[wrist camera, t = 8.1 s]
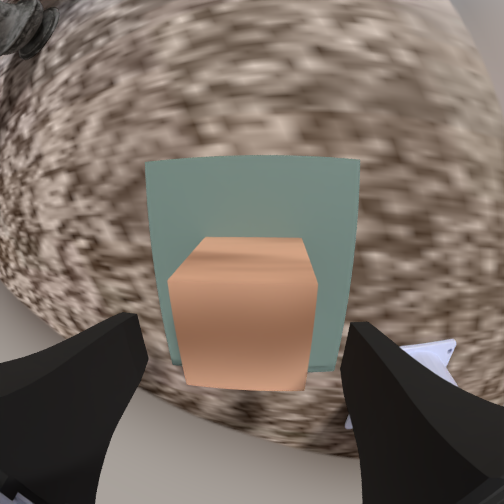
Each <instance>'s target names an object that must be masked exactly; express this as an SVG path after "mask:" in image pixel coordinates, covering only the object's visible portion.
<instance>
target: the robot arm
mask: <svg viewBox="0 0 504 504" xmlns="http://www.w3.org/2000/svg"><path fill="white" fill-rule="evenodd" d="M455 346H456V341H455V340H454V339H448V340H442V341H436V342H430V343H423V344H416V345H408V346H400V347H399V346H398V345H396V344H395V343H394V342H393V341H392V340H390V339H389V338H388V337H387V336H385V335H384V334H383V333H382V332H381V331H379V330H378V329H377V328H376V327H374V326H373V325H372V324H370V323H369V322H350V327H349V332H348V337H347V341H346V346H345V350H344V355H343V359H342V363H341V367H340V371H341V379H342V386H343V393H344V397H345V401H346V405H347V408H348V412H349V415H348V417H347V420H346V422H345V428H346V429H353V431H354V435H355V439H356V443H357V447H358V452H359V458H360V468H361V478H362V499H363V504H504V407H503V406H500V405H497V404H494V403H492V402H489V401H486V400H484V399H482V398H479V397H477V396H475V395H473V394H470V393H468V392H466V391H464V390H462V389H461V388H459V387H458V386H457V384H456V382H455V381H454V379H453V378H452V376H451V375H450V373H449V371H448V370H447V368H446V366H447V364H448V362H449V360H450V357H451V355H452V353H453V351H454V348H455ZM148 359H149V358H148V355H147V351H146V347H145V344H144V340H143V336H142V332H141V328H140V324H139V320H138V316H137V314H134V313H126V312H122V313H119V314H117V315H115V316H112V317H110V318H108V319H106V320H104V321H102V322H100V323H98V324H96V325H94V326H92V327H90V328H88V329H87V330H85V331H83V332H81V333H79V334H77V335H75V336H73V337H71V338H69V339H66V340H64V341H62V342H60V343H58V344H56V345H54V346H52V347H49V348H47V349H45V350H42V351H40V352H37V353H34V354H31V355H29V356H25V357H22V358H18V359H15V360H11V361H7V362H3V363H0V504H95V499H96V492H97V487H98V482H99V477H100V473H101V469H102V466H103V462H104V458H105V455H106V452H107V449H108V446H109V443H110V441H111V438H112V435H113V433H114V431H115V428H116V426H117V424H118V422H119V420H120V419H121V417H122V415H123V413H124V411H125V409H126V407H127V405H128V403H129V402H130V400H131V398H132V396H133V394H134V392H135V390H136V389H137V387H138V385H139V383H140V381H141V378H142V376H143V373H144V371H145V368H146V365H147V362H148Z"/></svg>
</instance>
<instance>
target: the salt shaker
mask: <svg viewBox="0 0 504 504" xmlns="http://www.w3.org/2000/svg"><path fill="white" fill-rule="evenodd" d="M58 19H59V11H58V9H56V8H49V9H47V10H45V11H43V6H42V4H41V2H40V1H39V0H20V1H19V2H18V3H17V4H8V3H5V2H1V1H0V56H2V55H8V54H12V53H15V52H17V51H18V50H19V56H20V58H21V59H25V60H26V59H29V58H31V57H33V56H34V55H35V54H36V53H38V52H39V51H40V50H41V48H42V47H43V46H44V45H45V44H46V42H47V41H48V39H49V38H50V37H51V35H52V33H53V31H54V30H55V27H56V25H57V23H58Z"/></svg>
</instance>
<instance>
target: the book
mask: <svg viewBox="0 0 504 504" xmlns="http://www.w3.org/2000/svg"><path fill="white" fill-rule="evenodd" d="M145 174H146V192H147V206H148V218H149V228H150V238H151V246H152V254H153V262H154V269H155V276H156V283H157V289H158V295H159V301H160V307H161V312H162V317H163V323H164V328H165V333H166V337H167V342H168V347H169V351H170V355H171V360H172V364H173V365H179V366H183V365H182V361H181V356H180V351H179V346H178V341H177V336H176V331H175V325H174V320H173V314H172V308H171V302H170V295H169V289H168V282H167V280H168V279H169V278H170V277H171V276H172V274H173V273H174V272H175V271H176V270H177V269H178V267H179V266H180V265H181V264H182V263H183V262H184V261H185V259H186V258H187V257H188V256H189V255H190V254H191V253H192V251H193V250H194V249H195V248H196V247H197V246H198V245H199V243H200V242H201V241H202V240H203V239H204V238H205V237H277V238H302V240H303V243H304V245H305V248H306V251H307V254H308V257H309V259H310V262H311V265H312V268H313V271H314V274H315V276H316V279H317V282H318V291H317V301H316V310H315V319H314V328H313V336H312V343H311V351H310V358H309V364H308V371H307V372H326V371H334V369H335V365H336V360H337V356H338V351H339V346H340V341H341V336H342V331H343V326H344V320H345V315H346V309H347V303H348V296H349V290H350V283H351V276H352V268H353V260H354V251H355V241H356V230H357V218H358V202H359V181H360V160H357V159H346V158H332V157H314V156H284V155H245V156H214V157H197V158H183V159H171V160H160V161H151V162H145Z"/></svg>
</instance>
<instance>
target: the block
mask: <svg viewBox="0 0 504 504" xmlns="http://www.w3.org/2000/svg"><path fill="white" fill-rule="evenodd" d="M167 282H168V289H169V295H170V302H171V308H172V314H173V320H174V325H175V331H176V336H177V341H178V346H179V351H180V356H181V361H182V365H183V370H184V374H185V379H186V383H187V385H195V386H204V387H213V388H225V389H239V390H259V391H304V389H305V383H306V377H307V371H308V364H309V358H310V351H311V343H312V336H313V328H314V319H315V310H316V301H317V291H318V282H317V279H316V276H315V274H314V271H313V268H312V265H311V262H310V259H309V257H308V254H307V251H306V248H305V245H304V243H303V240H302V238H277V237H205V238H204V239H203V240H202V241H201V242H200V243H199V245H198V246H197V247H196V248H195V249H194V250H193V251H192V253H191V254H190V255H189V256H188V257H187V258H186V259H185V261H184V262H183V263H182V264H181V265H180V266H179V267H178V269H177V270H176V271H175V272H174V273H173V274H172V276H171V277H170V278H169V279H168V280H167Z"/></svg>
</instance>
